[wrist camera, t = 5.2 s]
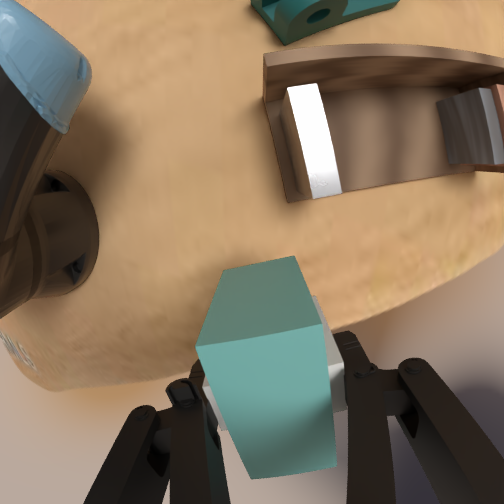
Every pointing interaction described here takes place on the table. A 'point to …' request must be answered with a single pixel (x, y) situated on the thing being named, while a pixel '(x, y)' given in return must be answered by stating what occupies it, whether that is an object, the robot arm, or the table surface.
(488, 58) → the book rack
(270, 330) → the teal book
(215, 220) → the table surface
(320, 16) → the bracket
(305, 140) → the bookend
